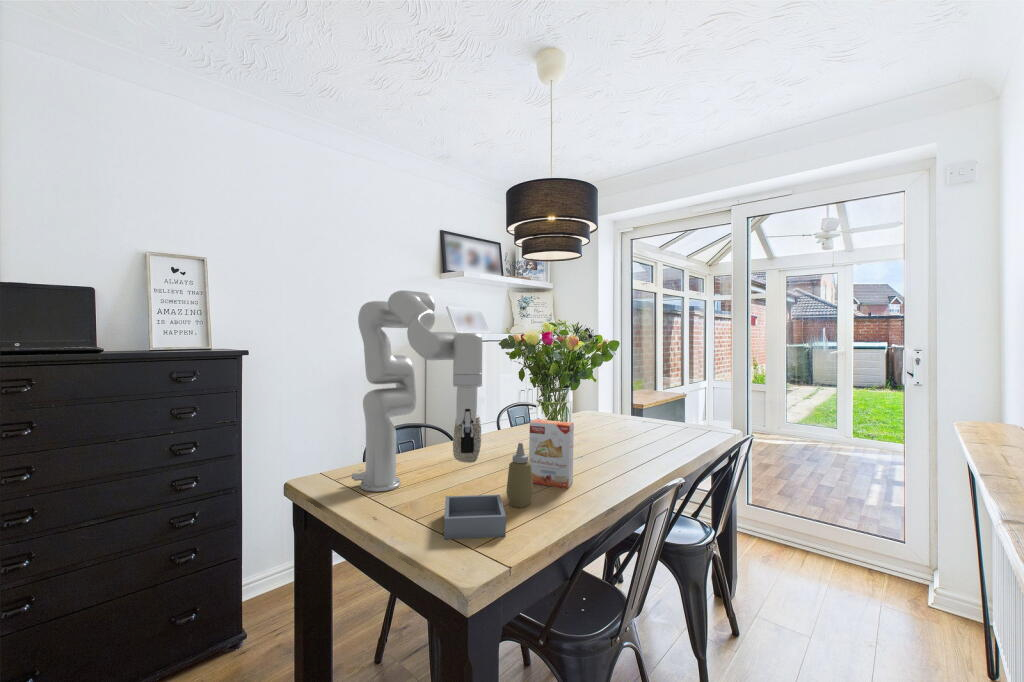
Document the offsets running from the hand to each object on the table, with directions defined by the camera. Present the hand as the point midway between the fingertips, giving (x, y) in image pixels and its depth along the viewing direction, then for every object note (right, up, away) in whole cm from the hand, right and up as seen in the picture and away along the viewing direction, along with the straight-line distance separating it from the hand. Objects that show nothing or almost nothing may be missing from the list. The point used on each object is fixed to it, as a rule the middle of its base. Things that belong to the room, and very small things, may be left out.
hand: (467, 448), depth 115 cm
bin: (+2, -20, 0) cm, 20 cm away
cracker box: (+25, -20, +33) cm, 46 cm away
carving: (0, -3, 0) cm, 3 cm away
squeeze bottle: (+14, -20, +15) cm, 29 cm away
